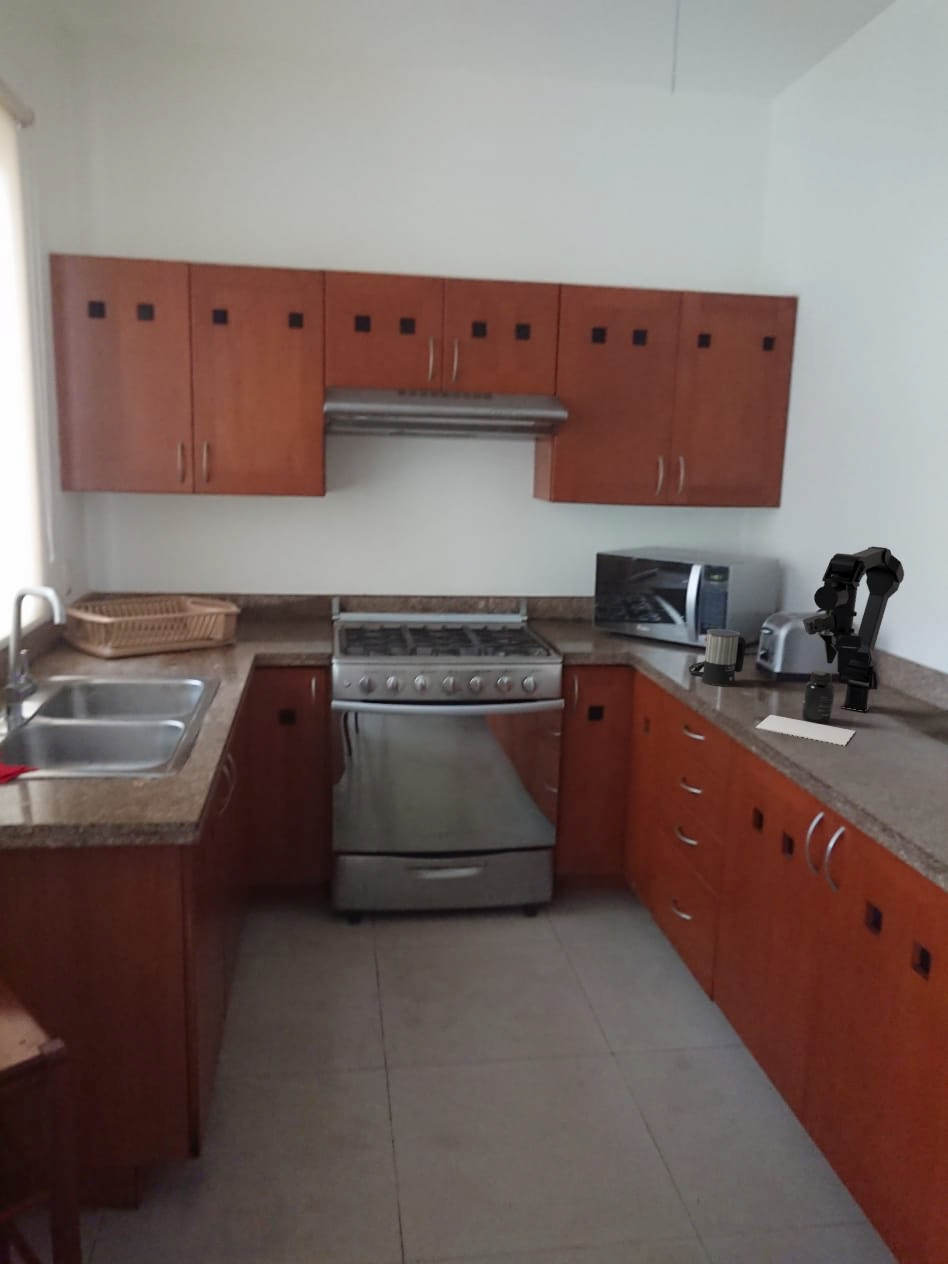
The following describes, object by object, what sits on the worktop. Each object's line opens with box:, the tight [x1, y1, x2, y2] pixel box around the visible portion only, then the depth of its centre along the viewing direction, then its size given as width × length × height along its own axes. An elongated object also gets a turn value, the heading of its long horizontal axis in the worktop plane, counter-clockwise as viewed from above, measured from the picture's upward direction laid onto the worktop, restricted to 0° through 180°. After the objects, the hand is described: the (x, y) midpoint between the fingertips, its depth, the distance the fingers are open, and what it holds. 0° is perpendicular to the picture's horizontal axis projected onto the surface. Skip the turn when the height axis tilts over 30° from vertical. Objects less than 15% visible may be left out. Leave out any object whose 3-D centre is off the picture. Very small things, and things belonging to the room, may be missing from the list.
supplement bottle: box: [801, 670, 835, 724], centre depth 227 cm, size 7×7×12 cm
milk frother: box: [688, 628, 747, 687], centre depth 264 cm, size 14×16×15 cm
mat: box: [755, 714, 856, 747], centre depth 218 cm, size 14×20×1 cm
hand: (834, 667), depth 227 cm, fingers open, 9 cm apart
